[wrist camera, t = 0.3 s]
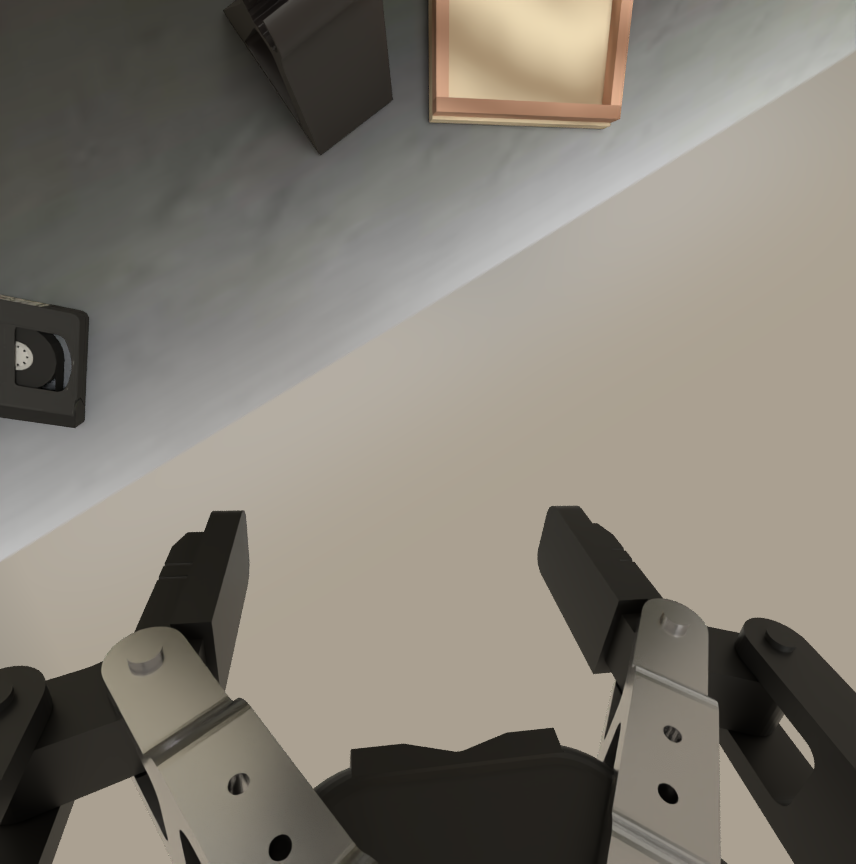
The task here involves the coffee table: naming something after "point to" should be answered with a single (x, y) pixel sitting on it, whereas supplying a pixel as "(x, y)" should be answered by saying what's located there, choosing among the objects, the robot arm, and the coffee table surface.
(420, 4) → the coffee table surface
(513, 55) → the stand
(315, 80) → the phone stand
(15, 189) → the coffee table surface
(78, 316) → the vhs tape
